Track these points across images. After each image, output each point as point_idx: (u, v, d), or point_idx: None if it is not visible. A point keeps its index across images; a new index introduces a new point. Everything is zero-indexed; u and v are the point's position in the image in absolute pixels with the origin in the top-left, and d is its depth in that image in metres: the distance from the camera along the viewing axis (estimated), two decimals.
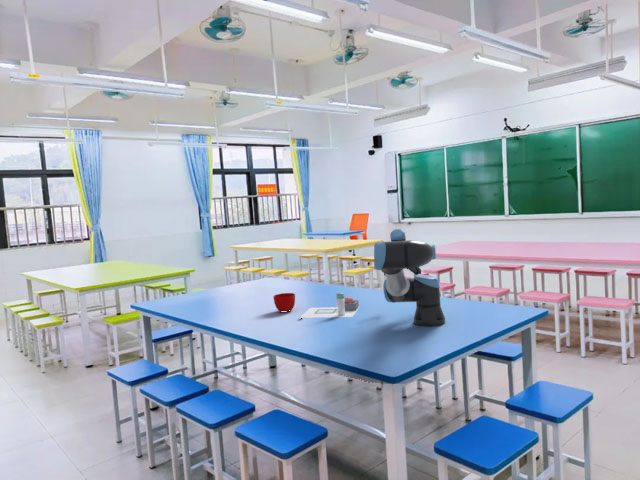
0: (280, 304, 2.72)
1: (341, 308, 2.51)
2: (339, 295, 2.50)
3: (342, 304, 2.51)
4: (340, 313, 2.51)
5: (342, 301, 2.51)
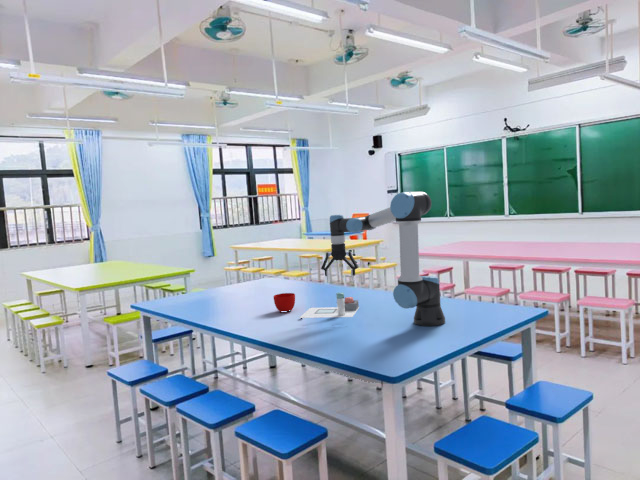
0: (280, 304, 2.72)
1: (341, 308, 2.51)
2: (339, 295, 2.50)
3: (342, 304, 2.51)
4: (340, 313, 2.51)
5: (342, 301, 2.51)
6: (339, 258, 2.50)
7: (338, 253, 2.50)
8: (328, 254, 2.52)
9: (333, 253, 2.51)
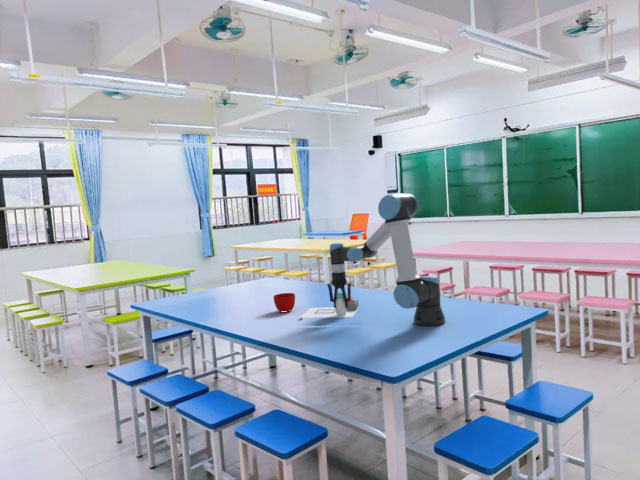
0: (280, 304, 2.72)
1: (341, 308, 2.51)
2: (339, 295, 2.50)
3: (342, 304, 2.51)
4: (340, 313, 2.51)
5: (342, 301, 2.51)
6: (340, 286, 2.51)
7: (338, 281, 2.51)
8: None
9: (333, 281, 2.51)
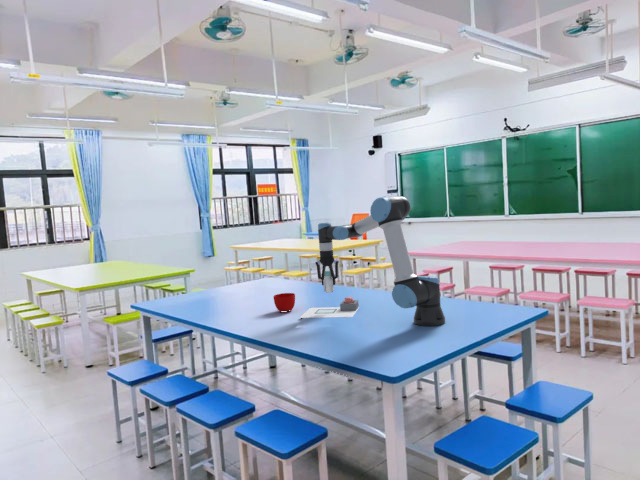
0: (280, 304, 2.72)
1: (329, 286, 2.61)
2: (327, 273, 2.60)
3: (330, 282, 2.61)
4: (328, 290, 2.61)
5: (330, 279, 2.61)
6: (327, 264, 2.61)
7: (326, 259, 2.61)
8: None
9: (321, 259, 2.61)
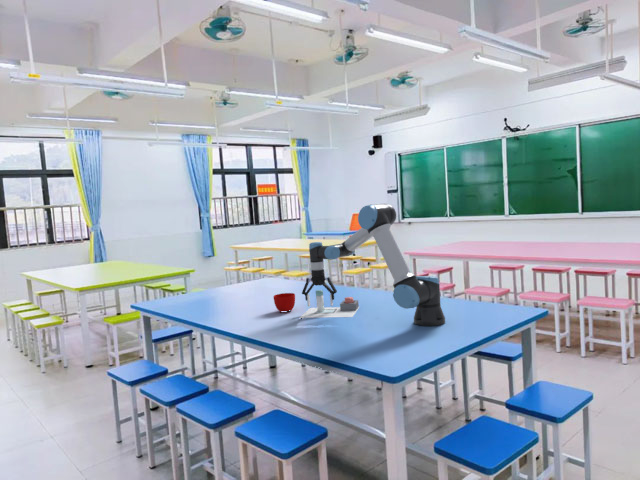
0: (280, 304, 2.72)
1: (320, 305, 2.63)
2: (318, 292, 2.62)
3: (321, 301, 2.63)
4: (319, 310, 2.63)
5: (321, 298, 2.63)
6: (319, 283, 2.63)
7: (318, 278, 2.63)
8: (308, 279, 2.65)
9: (313, 278, 2.63)
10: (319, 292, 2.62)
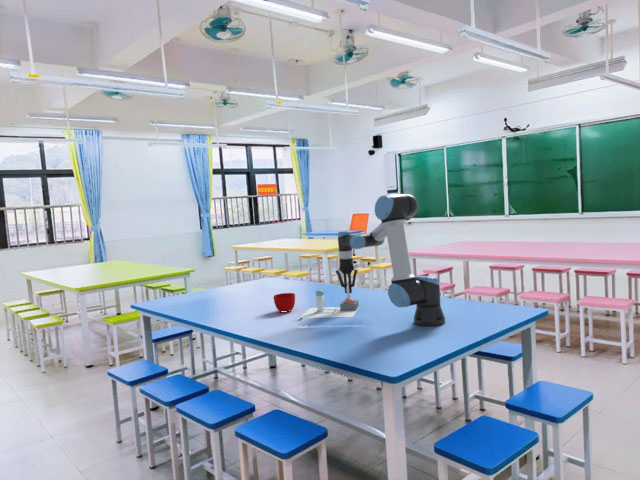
0: (280, 304, 2.72)
1: (320, 305, 2.63)
2: (318, 292, 2.62)
3: (321, 301, 2.63)
4: (319, 310, 2.63)
5: (321, 298, 2.63)
6: (347, 272, 2.63)
7: (346, 267, 2.63)
8: (338, 271, 2.65)
9: (341, 267, 2.64)
10: (319, 292, 2.62)
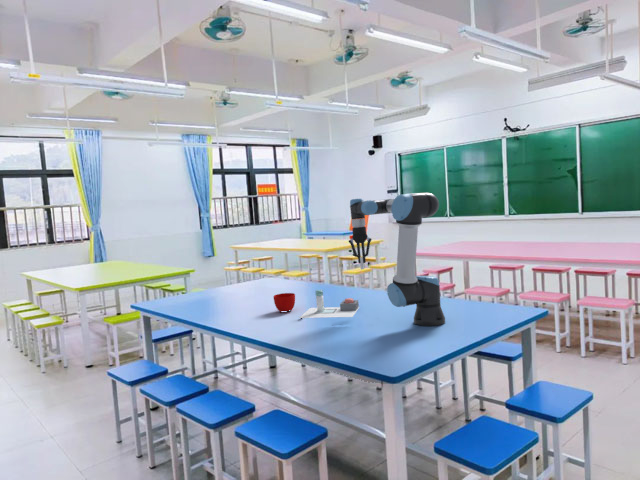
0: (280, 304, 2.72)
1: (320, 305, 2.63)
2: (318, 292, 2.62)
3: (321, 301, 2.63)
4: (319, 310, 2.63)
5: (321, 298, 2.63)
6: (360, 241, 2.55)
7: (359, 236, 2.54)
8: None
9: (354, 236, 2.55)
10: (319, 292, 2.62)
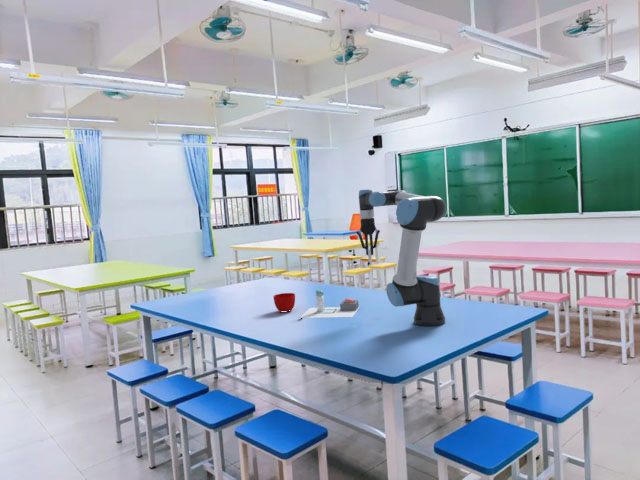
0: (280, 304, 2.72)
1: (320, 305, 2.63)
2: (318, 292, 2.62)
3: (321, 301, 2.63)
4: (319, 310, 2.63)
5: (321, 298, 2.63)
6: (369, 233, 2.50)
7: (367, 228, 2.50)
8: (359, 232, 2.52)
9: (362, 228, 2.51)
10: (319, 292, 2.62)
